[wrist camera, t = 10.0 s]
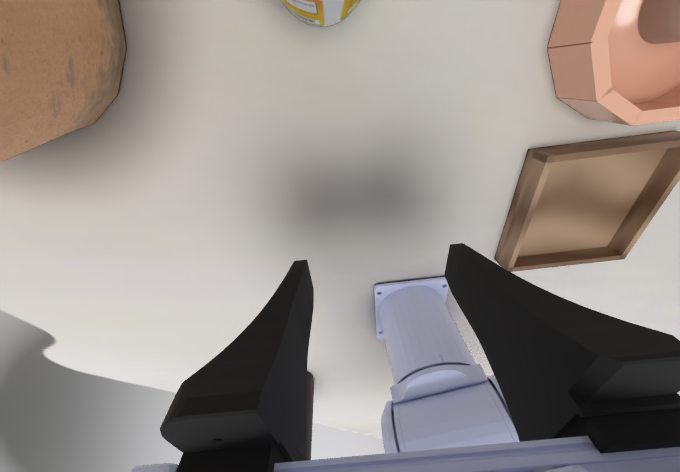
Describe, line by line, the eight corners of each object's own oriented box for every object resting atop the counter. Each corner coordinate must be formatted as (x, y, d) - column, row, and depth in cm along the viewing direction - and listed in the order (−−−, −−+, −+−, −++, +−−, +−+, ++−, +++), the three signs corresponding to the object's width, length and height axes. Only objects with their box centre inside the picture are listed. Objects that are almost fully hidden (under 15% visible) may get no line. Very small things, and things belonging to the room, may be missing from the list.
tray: (604, 246, 25) (624, 258, 23) (494, 259, 25) (506, 272, 23) (674, 130, 18) (709, 136, 17) (528, 149, 19) (548, 156, 17)
